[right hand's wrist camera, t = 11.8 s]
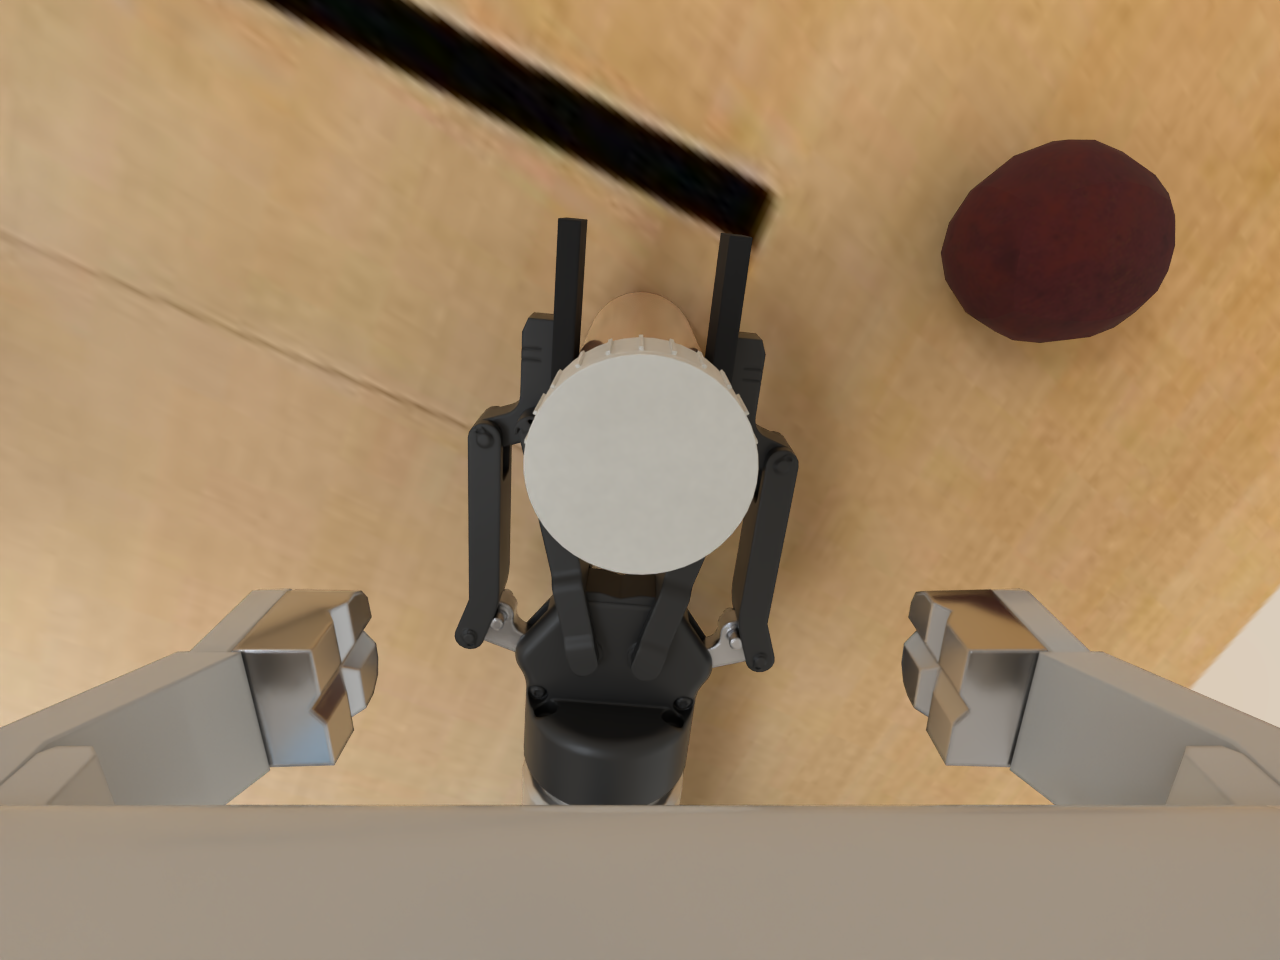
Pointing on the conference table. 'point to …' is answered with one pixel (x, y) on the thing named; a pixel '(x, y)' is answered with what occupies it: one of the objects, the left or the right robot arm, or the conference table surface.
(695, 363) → the lid
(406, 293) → the conference table surface
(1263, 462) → the conference table surface
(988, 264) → the potato
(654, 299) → the pinkish brown bottle
